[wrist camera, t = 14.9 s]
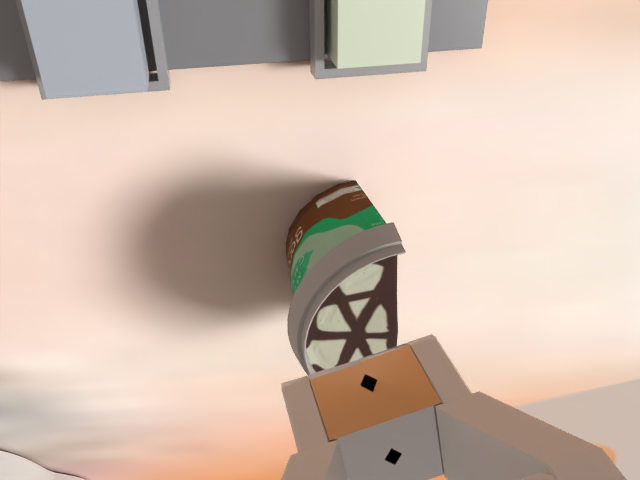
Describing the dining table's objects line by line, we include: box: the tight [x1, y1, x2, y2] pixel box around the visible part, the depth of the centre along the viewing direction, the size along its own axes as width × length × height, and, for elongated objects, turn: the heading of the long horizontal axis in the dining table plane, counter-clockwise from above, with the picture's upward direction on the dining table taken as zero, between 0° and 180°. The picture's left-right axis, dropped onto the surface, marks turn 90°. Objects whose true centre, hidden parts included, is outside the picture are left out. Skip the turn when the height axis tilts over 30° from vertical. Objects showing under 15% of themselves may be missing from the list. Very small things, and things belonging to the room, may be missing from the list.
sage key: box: [327, 0, 425, 69], centre depth 31 cm, size 4×4×3 cm
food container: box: [286, 181, 406, 375], centre depth 37 cm, size 12×6×10 cm, turn 3°
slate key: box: [21, 0, 149, 99], centre depth 28 cm, size 4×4×3 cm
